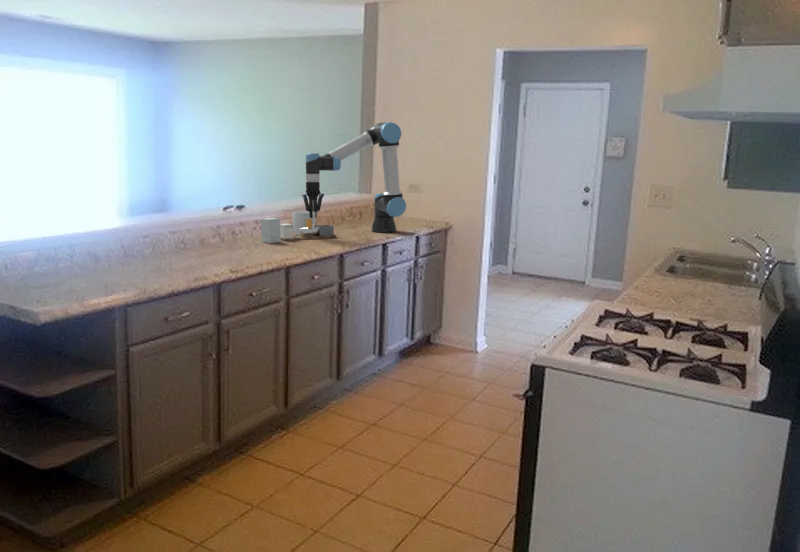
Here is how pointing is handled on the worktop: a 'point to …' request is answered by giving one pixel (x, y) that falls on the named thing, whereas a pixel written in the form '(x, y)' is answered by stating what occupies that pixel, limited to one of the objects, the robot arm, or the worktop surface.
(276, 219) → the supplement box
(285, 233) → the socket
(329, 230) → the sleeve
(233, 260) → the worktop surface
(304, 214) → the mug
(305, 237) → the rail board
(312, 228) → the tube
